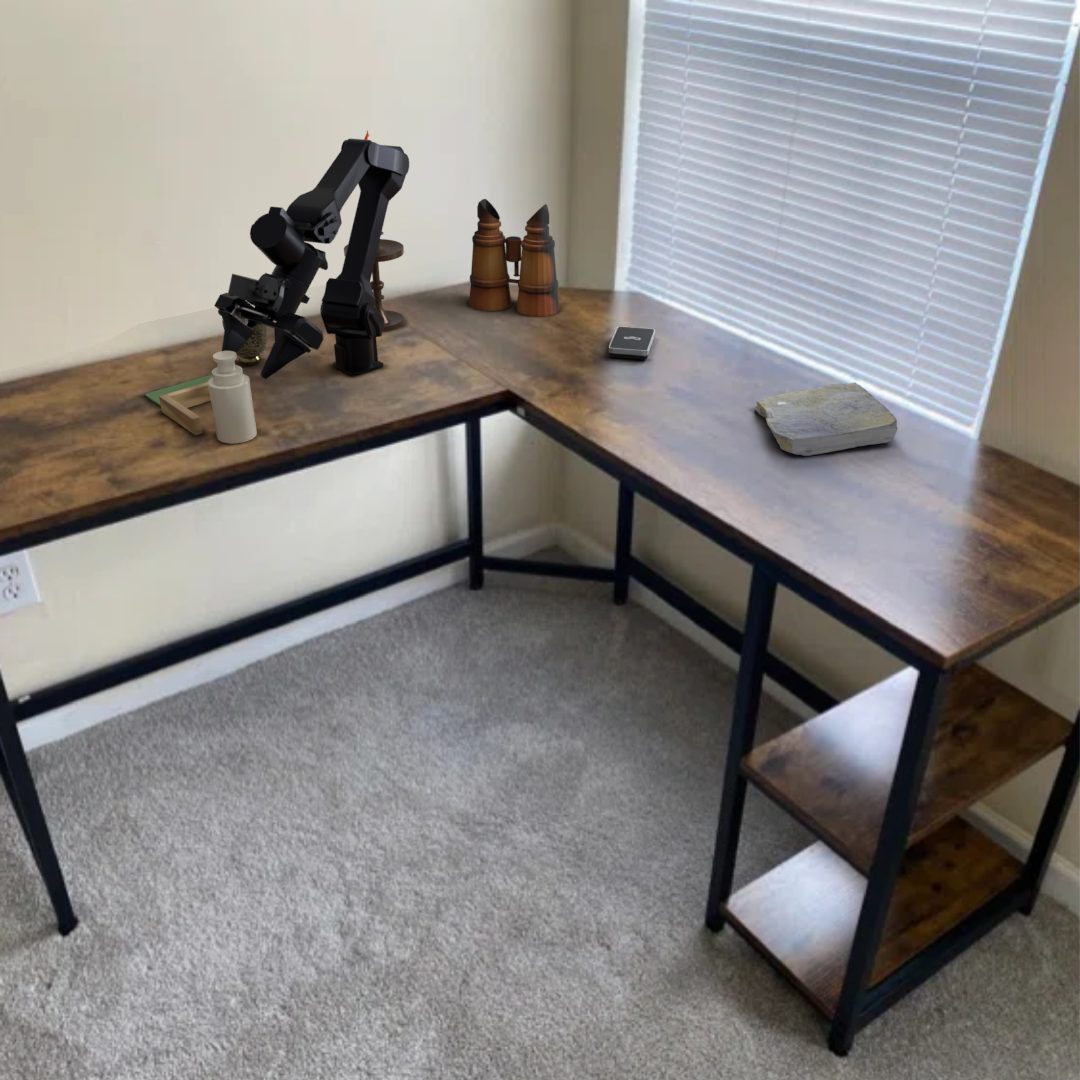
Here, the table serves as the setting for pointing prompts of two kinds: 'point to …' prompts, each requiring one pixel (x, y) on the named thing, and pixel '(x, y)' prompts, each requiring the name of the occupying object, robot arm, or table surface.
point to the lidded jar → (231, 400)
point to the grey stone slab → (827, 419)
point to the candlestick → (384, 253)
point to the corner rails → (185, 406)
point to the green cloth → (175, 389)
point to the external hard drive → (631, 342)
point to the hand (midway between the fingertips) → (242, 370)
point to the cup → (253, 345)
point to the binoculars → (534, 271)
